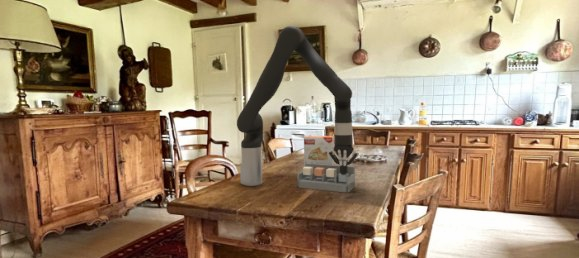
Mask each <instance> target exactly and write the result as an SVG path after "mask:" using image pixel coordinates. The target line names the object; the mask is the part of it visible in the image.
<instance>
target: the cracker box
mask: <svg viewBox="0 0 579 258" xmlns="http://www.w3.org/2000/svg"><path fill="white" fill-rule="evenodd" d="M334 146H335V143H334V135H305V136H303V165H304V167H305V163H311V164H326V165H335V162H334V160H333V159H332V158H331V156H330V155H329V152H331V151H332V150H334ZM304 167H303V168H304Z"/></svg>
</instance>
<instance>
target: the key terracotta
mask: <svg viewBox="0 0 579 258" xmlns="http://www.w3.org/2000/svg"><path fill="white" fill-rule="evenodd" d="M324 174H325V168H319V167H317V168H315V169H314V176H322V175H324Z"/></svg>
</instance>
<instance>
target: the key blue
mask: <svg viewBox="0 0 579 258" xmlns="http://www.w3.org/2000/svg"><path fill="white" fill-rule="evenodd" d="M348 176H349V174H345V175H343V174H341V173H340V174H339V175H338V180H339V182H346V178H347V177H348Z"/></svg>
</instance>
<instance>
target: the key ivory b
mask: <svg viewBox="0 0 579 258" xmlns="http://www.w3.org/2000/svg"><path fill="white" fill-rule="evenodd" d="M336 175H337V169H332V168H329V169H327V170H326V177H334V176H336Z"/></svg>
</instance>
